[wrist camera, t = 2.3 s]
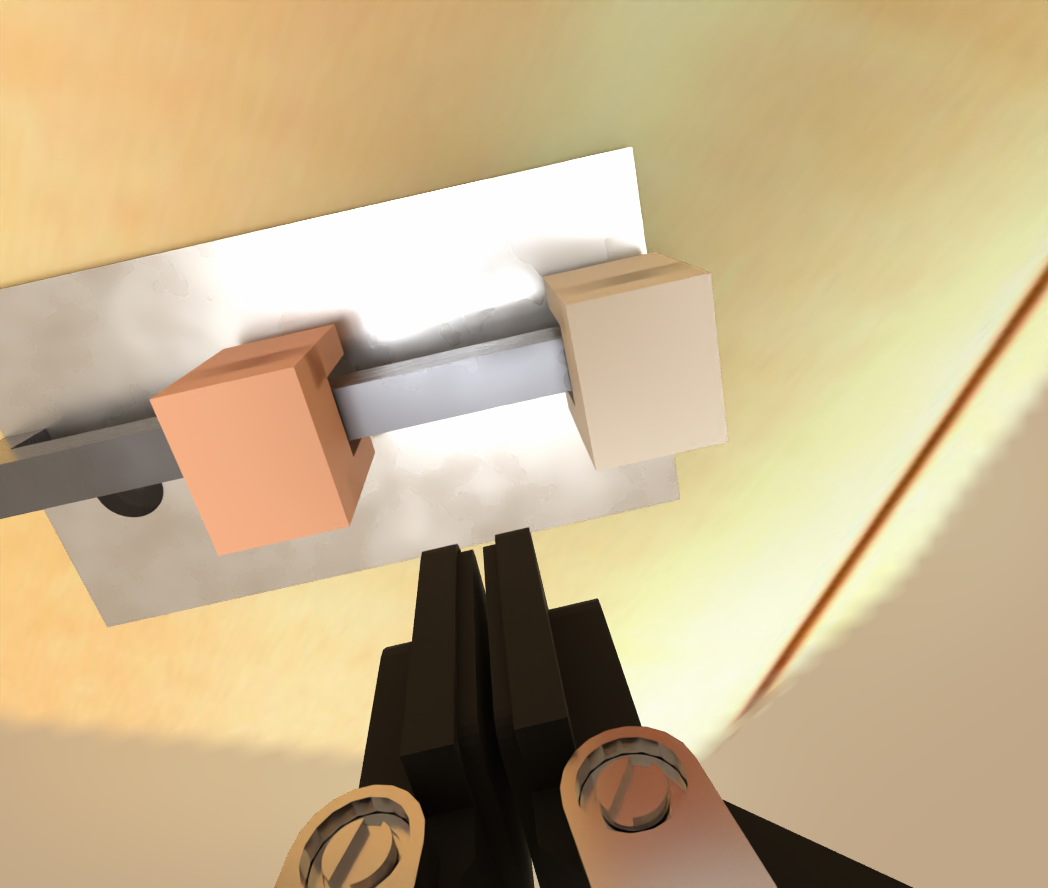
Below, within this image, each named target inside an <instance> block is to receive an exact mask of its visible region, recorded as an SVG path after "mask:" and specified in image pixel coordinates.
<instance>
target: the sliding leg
mask: <svg viewBox="0 0 1048 888" xmlns="http://www.w3.org/2000/svg"><path fill="white" fill-rule="evenodd" d="M343 354H344V353H343V349H342V346H341V343H340V340H339V337H338V334H337V331H336V327H335V324H332V325H327V326H323V327H318V328H314V329H310V330H305V331H301V332H296V333H292V334H287V335H283V336H278V337H274V338H270V339H265V340H261V341H256V342H252V343H247V344H243V345H239V346H234V347H230V348H225V349H223V350H221V351H220V352H218V353H217V354H215V355H214V356H212V357H211V358H209V359H208V360H206V361H205V362H203V363H202V364H201V365H199V366H198V367H196V368H195V369H193V370H192V371H190V372H189V373H187V374H186V375H184V376H183V377H181V378H180V379H178V380H177V381H176V382H174V383H173V384H171V385H170V386H168V387H167V388H165V389H164V390H162V391H161V392H159V393H158V394H156V395H155V396H153V397H152V398H151V399H149V400H150V402H151V405H152V407H153V409H154V412H155V414H156V416H157V418H158V421H159V423H160V425H161V427H162V430H163V432H164V434H165V436H166V439H167V441H168V443H169V445H170V448H171V450H172V452H173V454H174V457H175V459H176V461H177V463H178V466H179V468H180V470H181V473H182V475H183V477H184V479H185V482H186V484H187V486H188V488H189V491H190V493H191V495H192V497H193V500H194V502H195V504H196V506H197V509H198V511H199V513H200V515H201V518H202V520H203V522H204V524H205V527H206V529H207V531H208V534H209V536H210V538H211V540H212V543H213V545H214V547H215V549H216V552H217V554H218V556H221V555H225V554H230V553H234V552H239V551H243V550H248V549H252V548H257V547H261V546H265V545H270V544H274V543H279V542H283V541H288V540H292V539H297V538H301V537H306V536H310V535H315V534H319V533H324V532H328V531H332V530H337V529H341V528H346V527H350V524H351V521H352V518H353V516H354V513H355V510H356V507H357V504H358V501H359V498H360V495H361V492H362V489H363V486H364V484H365V481H366V478H367V475H368V472H369V469H370V466H371V463H372V460H373V457H374V455H375V450H374V447H373V444H372V440H371V437H370V436H368V437H363V438H359V439H354V440H350V441H348V439H347V436H346V433H345V430H344V427H343V424H342V421H341V418H340V415H339V412H338V409H337V406H336V403H335V400H334V397H333V394H332V391H331V388H330V385H329V382H328V379H327V377H328V375H329V374H330V372H331V371H332V370H333V368H334V367H335V365H336V364H337V363H338V361H339V360H340V359H341V357H342V356H343Z"/></svg>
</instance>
